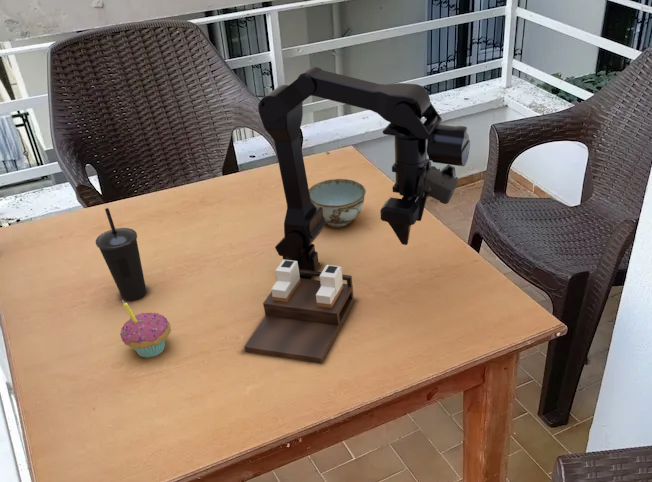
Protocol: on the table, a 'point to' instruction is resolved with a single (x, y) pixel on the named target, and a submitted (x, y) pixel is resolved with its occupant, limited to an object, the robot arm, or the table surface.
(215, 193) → the table surface
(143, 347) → the cupcake
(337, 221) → the bowl
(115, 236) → the drinking cup
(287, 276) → the white l-shaped block
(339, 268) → the white stacked box shape
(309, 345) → the shoe rack
